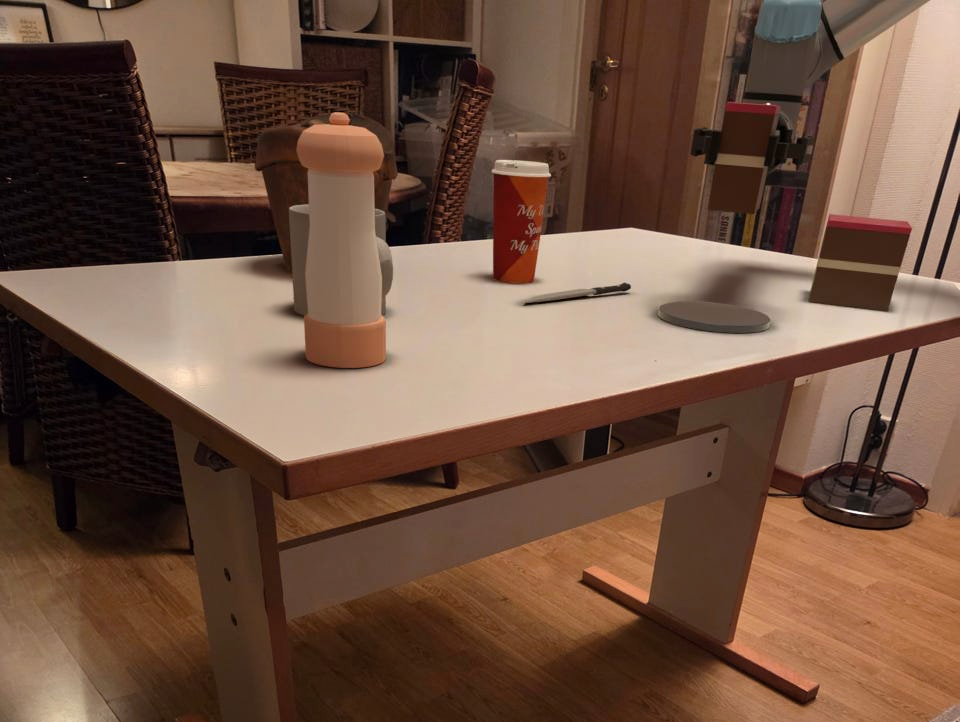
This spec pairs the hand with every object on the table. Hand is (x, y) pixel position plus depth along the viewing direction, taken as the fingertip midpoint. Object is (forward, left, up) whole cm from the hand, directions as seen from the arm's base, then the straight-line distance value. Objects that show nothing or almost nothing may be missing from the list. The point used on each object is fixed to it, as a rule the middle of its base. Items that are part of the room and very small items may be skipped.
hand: (741, 149), depth 89 cm
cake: (-16, -29, -18) cm, 37 cm away
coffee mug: (+37, +17, -18) cm, 45 cm away
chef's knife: (+18, -8, -18) cm, 26 cm away
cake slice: (0, -5, -6) cm, 8 cm away
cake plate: (0, -5, -18) cm, 18 cm away
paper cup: (+28, -15, -18) cm, 36 cm away
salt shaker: (+29, +33, -18) cm, 48 cm away
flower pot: (+51, -6, -18) cm, 54 cm away
